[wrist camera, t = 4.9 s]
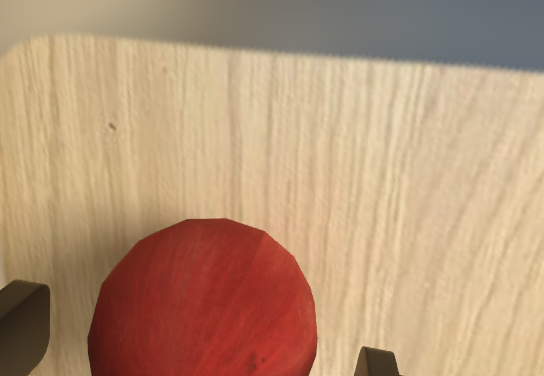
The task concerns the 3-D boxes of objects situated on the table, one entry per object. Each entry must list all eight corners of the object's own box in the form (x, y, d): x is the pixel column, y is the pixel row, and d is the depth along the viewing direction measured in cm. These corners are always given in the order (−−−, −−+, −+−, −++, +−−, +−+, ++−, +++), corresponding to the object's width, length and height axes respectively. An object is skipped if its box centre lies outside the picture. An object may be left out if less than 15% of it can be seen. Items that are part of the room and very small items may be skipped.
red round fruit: (321, 341, 16) (321, 596, 9) (162, 341, 17) (33, 577, 9) (313, 182, 15) (306, 322, 7) (139, 188, 15) (-40, 324, 8)
